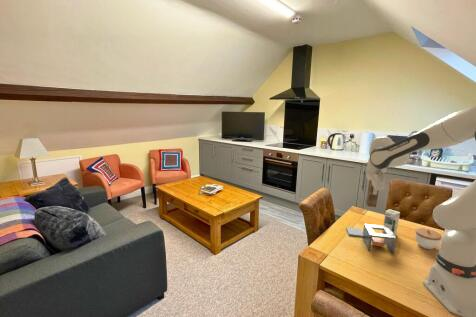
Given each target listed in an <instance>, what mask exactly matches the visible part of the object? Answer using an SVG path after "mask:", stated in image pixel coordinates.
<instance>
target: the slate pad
mask: <svg viewBox="0 0 476 317" xmlns="http://www.w3.org/2000/svg"><path fill="white" fill-rule="evenodd" d="M346 232H347V234H348V236H350V237H358V238H359V237H360V238H362V237H363V229H362V228H360V227H359V228H357V227H351V226H350V227H348V226H347V227H346Z"/></svg>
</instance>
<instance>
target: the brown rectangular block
mask: <svg viewBox="0 0 476 317" xmlns="http://www.w3.org/2000/svg"><path fill="white" fill-rule="evenodd" d="M373 189H374V188H373V186H372V181H371V180H368V187H367V193H366V200H365V205H367V207H370V208H372V207H373V208H376V207H377V204H378V197H379V192H380V191H379V190H378V191H377V194H376V195H374V194H373V193H372V191H373Z"/></svg>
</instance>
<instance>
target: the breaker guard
mask: <svg viewBox="0 0 476 317" xmlns="http://www.w3.org/2000/svg"><path fill="white" fill-rule="evenodd" d="M375 230H382V231H383V230H384V231H385V234H382V232H381V233H380V232H375ZM362 232H363V237H361V238H362V240H363V243H364V245H365V247H366V249H367V251H371V245H372V241H371V240H372V237H376V238H382V239H383V241H384V243H385V245H386V247H387V248H388V250H389V251H390V253H391V254H392V255H394V254H395V250H396V243H397V237H396V235H394V234H393V232H392V231H391V229H390V228H389V227H388V226H383V225H382V224H381V225H380V224H379V225H378V224H369V223H364V224H363V229H362Z"/></svg>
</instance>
